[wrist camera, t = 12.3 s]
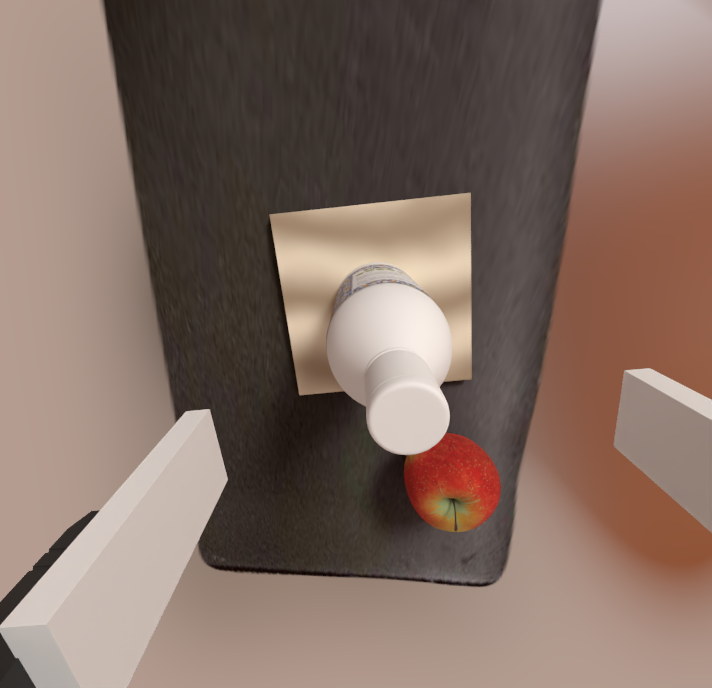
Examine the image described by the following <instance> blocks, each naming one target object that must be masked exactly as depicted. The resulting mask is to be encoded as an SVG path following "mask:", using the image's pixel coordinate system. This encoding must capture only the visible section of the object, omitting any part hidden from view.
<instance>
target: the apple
mask: <svg viewBox="0 0 712 688" xmlns="http://www.w3.org/2000/svg"><path fill="white" fill-rule="evenodd" d="M404 480H405V486H406V490H407V494H408V496H409V499H410V501H411V503H412V505H413V507H414V509H415V510H416V512H417V513H418V514H419V515H420V517H421V518H422V519H423V520H425V521H426V522H427V523H428V524H430V525H432V526H433V527H435V528H438V529H441V530H445V531H450V532H463V531H468V530H471V529H473V528H476V527H477V526H479V525H481V524H482V523H483V522H484V521H486V520H487V519H488V518H489V517H490V516H491V514H492V513H493V512H494V510H495V508H496V507H497V505H498V502H499V499H500V494H501V483H500V478H499V474H498V471H497V469H496V467H495V465H494V463H493V461H492V460H491V458H490V457H489V456H488V454H487V453H486V452H485V451H484V450H483V449H482V448H481V447H480V446H478V445H477V444H476V443H474V442H473V441H471V440H470V439H468V438H466V437H463V436H461V435H457V434H453V433H445V435H444V436H443V438H442V439H441V440H440V441H439V442H438V443H437V444H436V445H435V446H434V447H432V448H430V449H429V450H427V451H425V452H422V453H419V454H414V455H407V457H406V460H405V464H404Z"/></svg>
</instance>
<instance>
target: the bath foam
mask: <svg viewBox="0 0 712 688" xmlns="http://www.w3.org/2000/svg"><path fill="white" fill-rule="evenodd" d="M326 350H327V356H328V361H329V365H330V368H331V370H332V373H333V375H334V377H335V379H336V380H337V382H338V384H339V385H340V386H341V388H342V389H343V390H344V391H345V392H346V393H347V394H348V395H349V396H350V397H351V398H353V399H354V400H355V401H357V402H358V403H360V404H362V405H364V406H366V420H367V426H368V429H369V432H370V434H371V436H372V437H373V439H374V440H375V441H376V442H377V443H378V444H379V445H380V446H381V447H382V448H384V449H385V450H387V451H389V452H392V453H395V454H400V455H414V454H419V453H422V452H425V451H427V450H429V449H430V448H432V447H434V446H435V445H436V444H437V443H438V442H439V441H440V440H441V439H442V438H443V436H444V435H445V433H446V431H447V428H448V425H449V419H450V413H449V407H448V404H447V401H446V399H445V397H444V395H443V393H442V391H441V389H440V386H441V384H442V383H443V381H444V380H445V378H446V376H447V373H448V371H449V368H450V364H451V360H452V337H451V332H450V328H449V325H448V322H447V320H446V318H445V316H444V314H443V312H442V311H441V309H440V308H439V307H438V305H437V304H436V303H435V302H434V301H433V300H432V299H431V298H430V297H429V295H428V294H427V293H426V292H425V291H424V290H423V289H422V288H421V287H420V286H419V285H418V284H417V283H416V282H415V281H414V280H413V279H412V278H411V277H410V276H408V275H407V274H406V273H405V272H404V271H403V270H401V269H400V268H398V267H396V266H394V265H391V264H388V263H383V262H373V263H367V264H364V265H361V266H359V267H357V268H356V269H354V270H353V271H351V272H350V273H349V274H348V275H347V276H346V277H345V279H344V280H343V281H342V283H341V285H340V287H339V289H338V292H337V295H336V299H335V303H334V307H333V311H332V315H331V319H330V323H329V327H328V331H327V337H326Z"/></svg>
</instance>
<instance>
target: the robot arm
mask: <svg viewBox="0 0 712 688" xmlns="http://www.w3.org/2000/svg"><path fill="white" fill-rule="evenodd" d="M614 447H615V448H616V449H617V450H618V451H620V452H621V453H622V454H623V455H624V456H625V457H627V458H628V459H629V460H630V461H631V462H632V463H633V464H634V465H635V466H637V467H638V468H639V469H640V470H641V471H642V472H644V473H645V474H646V475H647V476H648V477H649V478H650V479H651V480H653V481H654V482H655V483H656V484H657V485H658V486H659V487H660V488H662V489H663V490H664V491H665V492H666V493H667V494H668V495H669V496H671V497H672V498H673V499H674V500H675V501H676V502H677V503H679V504H680V505H681V506H682V507H683V508H684V509H685V510H686V511H688V512H689V513H690V514H691V515H692V516H693V517H694V518H695V519H697V520H698V521H699V522H700V523H701V524H702V525H703V526H704V527H706V528H707V529H708V530H709V531H710V532H712V400H711V399H709V398H707V397H705V396H702V395H701V394H699V393H697V392H695V391H693V390H691V389H689V388H687V387H685V386H683V385H681V384H679V383H678V382H676V381H673V380H672V379H670V378H668V377H666V376H664V375H662V374H660V373H658V372H656V371H654V370H652V369H650V368H646V369H635V370H625V371H624V377H623V384H622V391H621V398H620V405H619V411H618V418H617V425H616V432H615V440H614ZM227 480H228V478H227V475H226V471H225V467H224V463H223V459H222V455H221V451H220V448H219V444H218V440H217V436H216V432H215V428H214V424H213V421H212V417H211V413H210V409H206V410H196V411H186V412H185V413H184V414H183V416H182V417H181V418H180V419H179V420H178V421H177V423H176V424H175V425H174V426H173V427H172V428H171V429H170V431H169V432H168V433H167V434H166V435H165V436H164V437H163V439H162V440H161V441H160V442H159V443H158V444H157V446H156V447H155V448H154V449H153V450H152V451H151V452H150V454H149V455H148V456H147V457H146V458H145V460H143V462H142V463H141V464H140V465H139V466H138V467H137V469H136V470H135V471H134V472H133V473H132V474H131V475H130V477H129V478H128V479H127V480H126V481H125V482H124V483H123V485H122V486H121V487H120V488H119V489H118V490H117V492H116V493H115V494H114V495H113V496H112V497H111V498H110V500H109V501H108V502H107V503H106V504H105V505H104V507H103V508H102V509H101V510H100V511H91V512H90V513H89V514H87V515H86V516H85V517H83V518H82V519H81V520H79V521H78V522H76V523H75V524H74V525H72V526H71V527H70V528H68V529H67V530H66V531H65V532H64V534H63V535H62V536H61V537H60V538H59V539H58V540H57V541H56V542H55V543H54V545H53V546H52V547H51V548H50V549H49V552H48V553H45V554H44V555H43V556H42V557H41V559H40V560H39V561H38V562H37V563H36V564H35V565H34V566H33V570H32V571H29V572H28V573H27V574H26V575H25V576H24V577H23V578H22V579H21V580H20V581H19V582H18V583H17V585H16V586H15V587H14V588H13V589H12V590H11V591H10V592H9V593H8V594H7V596H6V597H5V598H4V599H3V600H2V601H1V602H0V688H127V687H128V685H129V683H130V681H131V679H132V676H133V675H134V672H135V670H136V668H137V666H138V664H139V662H140V660H141V658H142V656H143V654H144V652H145V650H146V647H147V646H148V644H149V641H150V639H151V637H152V635H153V633H154V631H155V629H156V627H157V625H158V623H159V621H160V619H161V617H162V615H163V612H164V611H165V608H166V606H167V604H168V602H169V600H170V598H171V596H172V594H173V592H174V590H175V588H176V586H177V584H178V582H179V579H180V577H181V575H182V573H183V571H184V569H185V567H186V565H187V563H188V561H189V559H190V557H191V555H192V553H193V550H194V549H195V546H196V544H197V542H198V540H199V538H200V536H201V534H202V532H203V530H204V528H205V526H206V524H207V522H208V520H209V518H210V516H211V513H212V511H213V509H214V507H215V505H216V503H217V501H218V499H219V497H220V495H221V493H222V491H223V489H224V487H225V485H226V482H227Z"/></svg>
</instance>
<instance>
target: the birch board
mask: <svg viewBox="0 0 712 688" xmlns="http://www.w3.org/2000/svg"><path fill="white" fill-rule="evenodd" d="M270 221H271V227H272V233H273V239H274V245H275V251H276V257H277V263H278V269H279V275H280V281H281V287H282V293H283V299H284V305H285V311H286V317H287V323H288V329H289V335H290V342H291V348H292V354H293V360H294V366H295V372H296V378H297V384H298V390H299V395H308V394H319V393H330V392H340V391H344V390H343V389H342V388H341V386H340V385H339V384H338V382H337V380H336V379H335V377H334V375H333V373H332V370H331V368H330V365H329V361H328V356H327V350H326V337H327V331H328V327H329V323H330V319H331V315H332V311H333V307H334V303H335V299H336V295H337V292H338V289H339V287H340V285H341V283H342V281H343V280H344V279H345V277H346V276H347V275H348V274H349V273H350V272H351V271H353V270H354V269H356V268H357V267H359V266H361V265H364V264H367V263H373V262H383V263H388V264H391V265H394V266H396V267H398V268H400V269H401V270H403V271H404V272H405V273H406V274H407V275H408V276H410V277H411V278H412V279H413V280H414V281H415V282H416V283H417V284H418V285H419V286H420V287H421V288H422V289H423V290H424V291H425V292H426V293H427V294H428V295H429V297H430V298H431V299H432V300H433V301H434V302H435V303H436V304H437V305H438V307H439V308H440V309H441V311H442V312H443V314H444V316H445V318H446V320H447V322H448V325H449V328H450V332H451V337H452V360H451V364H450V368H449V371H448V373H447V376H446V378H445V380H444V381H443V382H447V381H457V380H468V379H472V375H471V193H464V194H455V195H446V196H437V197H427V198H418V199H409V200H400V201H391V202H381V203H372V204H363V205H354V206H345V207H335V208H326V209H317V210H308V211H299V212H289V213H280V214H271V215H270Z"/></svg>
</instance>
